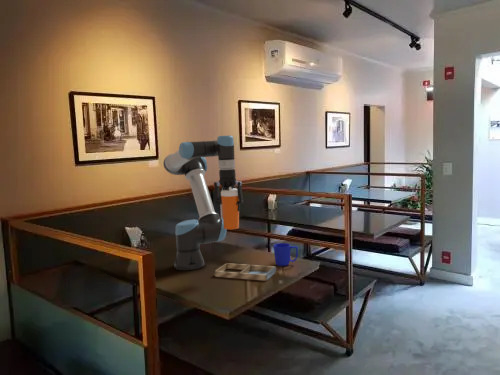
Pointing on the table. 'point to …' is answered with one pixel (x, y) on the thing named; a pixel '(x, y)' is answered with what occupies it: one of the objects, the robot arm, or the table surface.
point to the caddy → (246, 271)
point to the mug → (283, 254)
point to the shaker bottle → (230, 207)
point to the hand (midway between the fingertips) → (229, 217)
